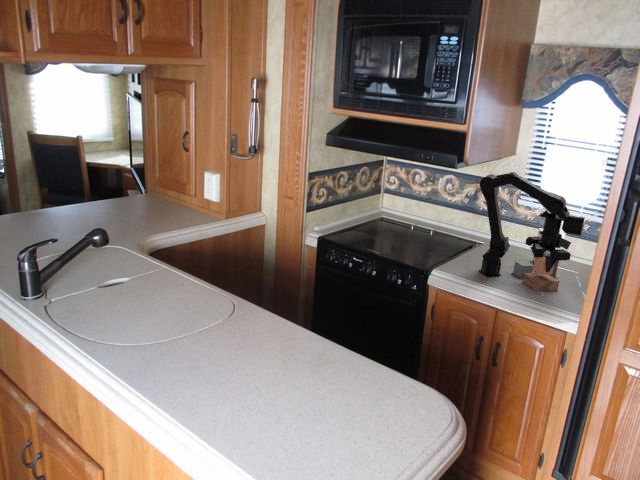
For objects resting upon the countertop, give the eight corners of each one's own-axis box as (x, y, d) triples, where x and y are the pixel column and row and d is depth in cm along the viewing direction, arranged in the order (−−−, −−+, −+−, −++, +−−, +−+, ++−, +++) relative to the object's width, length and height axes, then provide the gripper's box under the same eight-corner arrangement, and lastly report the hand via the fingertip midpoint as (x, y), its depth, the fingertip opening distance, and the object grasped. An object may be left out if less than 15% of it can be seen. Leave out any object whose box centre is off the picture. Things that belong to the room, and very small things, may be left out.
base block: (536, 292, 205) (538, 282, 203) (522, 282, 213) (524, 273, 212) (557, 290, 207) (559, 281, 206) (541, 281, 215) (543, 272, 214)
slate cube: (520, 277, 217) (522, 266, 215) (512, 272, 221) (515, 261, 220) (531, 277, 218) (533, 265, 217) (523, 272, 223) (525, 260, 221)
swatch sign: (533, 274, 221) (537, 255, 219) (534, 270, 225) (538, 252, 223) (555, 278, 218) (559, 259, 216) (555, 274, 223) (559, 255, 220)
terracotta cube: (540, 274, 205) (543, 262, 204) (532, 269, 210) (535, 257, 208) (552, 274, 207) (554, 261, 205) (543, 269, 211) (546, 256, 209)
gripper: (587, 237, 197) (577, 278, 202) (552, 222, 213) (544, 259, 219) (561, 238, 193) (552, 279, 199) (528, 222, 210) (520, 260, 215)
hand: (542, 269), depth 208 cm, fingers closed on terracotta cube, 5 cm apart
